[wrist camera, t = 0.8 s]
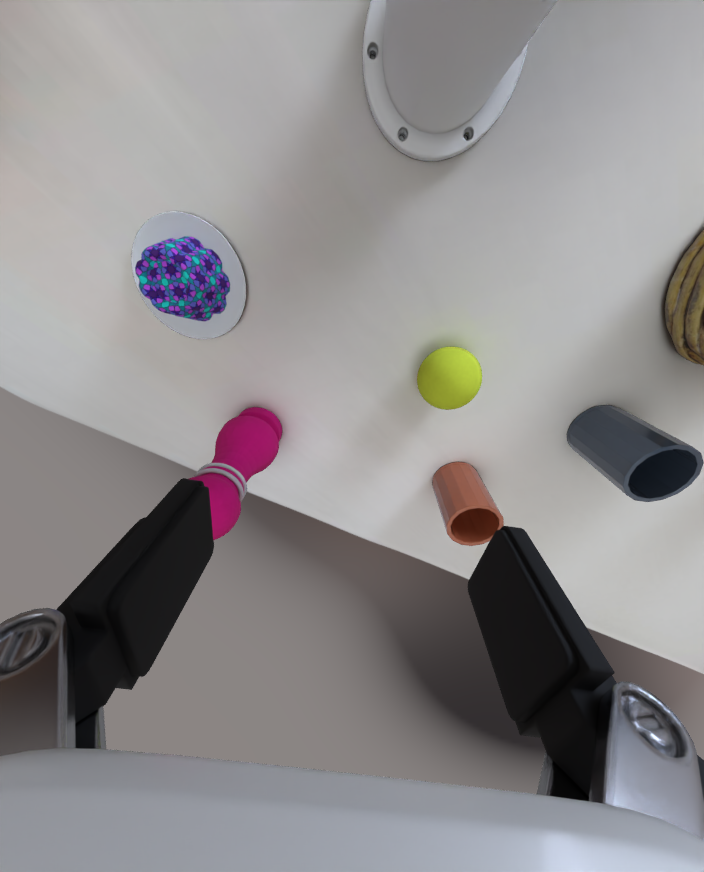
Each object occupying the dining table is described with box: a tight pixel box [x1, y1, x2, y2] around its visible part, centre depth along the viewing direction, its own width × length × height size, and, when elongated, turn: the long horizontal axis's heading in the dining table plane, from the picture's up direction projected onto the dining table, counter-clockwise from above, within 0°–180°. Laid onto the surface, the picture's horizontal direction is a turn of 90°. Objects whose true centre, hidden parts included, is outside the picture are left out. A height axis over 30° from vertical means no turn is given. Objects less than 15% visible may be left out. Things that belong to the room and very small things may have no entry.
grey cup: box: [567, 405, 703, 502], centre depth 35 cm, size 7×7×10 cm
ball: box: [417, 347, 482, 410], centre depth 33 cm, size 7×7×7 cm
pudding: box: [131, 211, 246, 339], centre depth 30 cm, size 12×12×5 cm
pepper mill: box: [190, 407, 282, 540], centre depth 32 cm, size 7×7×20 cm
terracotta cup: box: [432, 462, 503, 546], centre depth 40 cm, size 7×7×9 cm
